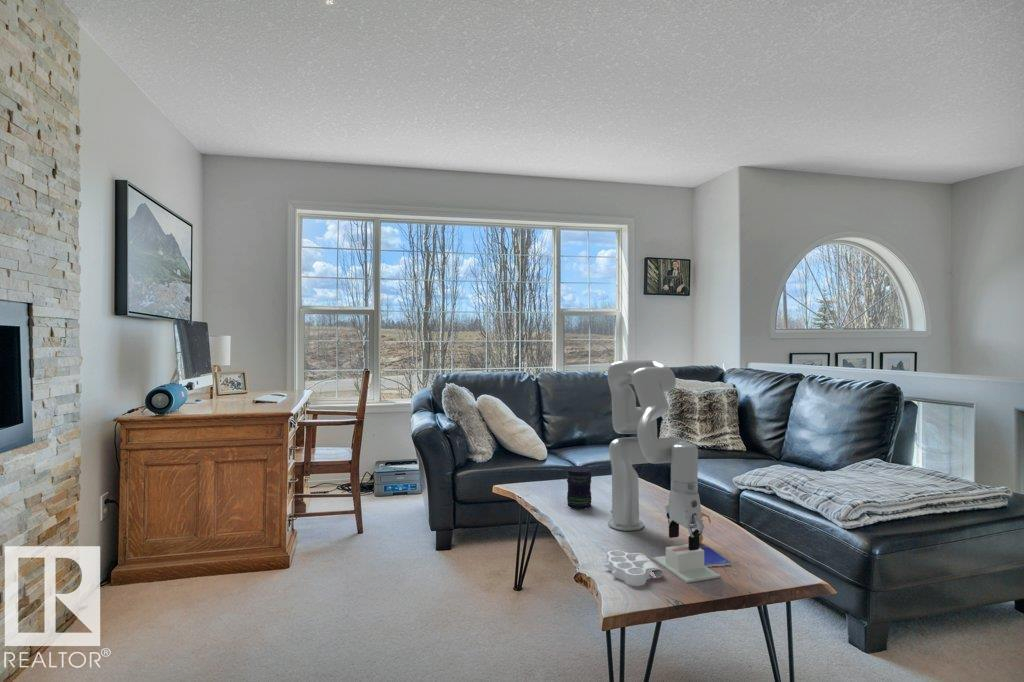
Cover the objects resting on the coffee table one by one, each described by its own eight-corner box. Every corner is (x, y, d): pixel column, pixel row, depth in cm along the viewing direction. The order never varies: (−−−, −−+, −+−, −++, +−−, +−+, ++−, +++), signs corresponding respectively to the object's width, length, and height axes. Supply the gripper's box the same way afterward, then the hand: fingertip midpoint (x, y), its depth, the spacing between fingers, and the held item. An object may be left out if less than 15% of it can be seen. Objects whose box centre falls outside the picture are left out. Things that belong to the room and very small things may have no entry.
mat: (652, 559, 166) (652, 557, 166) (683, 554, 169) (683, 553, 169) (686, 582, 149) (686, 580, 149) (720, 577, 153) (720, 575, 153)
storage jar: (565, 502, 225) (565, 466, 225) (589, 502, 226) (588, 466, 226) (569, 509, 215) (568, 472, 215) (593, 509, 216) (593, 471, 216)
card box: (690, 559, 164) (690, 542, 164) (704, 567, 158) (704, 550, 158) (665, 564, 161) (665, 546, 161) (678, 572, 155) (678, 554, 155)
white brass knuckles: (669, 583, 150) (619, 589, 147) (640, 558, 167) (595, 563, 164) (669, 571, 150) (619, 577, 147) (640, 547, 167) (595, 551, 164)
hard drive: (731, 561, 161) (709, 546, 173) (705, 563, 160) (685, 548, 172) (731, 567, 161) (709, 551, 173) (705, 569, 160) (685, 553, 172)
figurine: (706, 541, 181) (706, 504, 181) (713, 547, 175) (713, 510, 175) (682, 541, 181) (681, 505, 181) (688, 548, 174) (687, 510, 175)
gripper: (714, 493, 152) (713, 553, 153) (677, 476, 169) (677, 531, 169) (691, 495, 150) (690, 556, 151) (656, 478, 167) (656, 534, 167)
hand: (683, 543), depth 160 cm, fingers open, 9 cm apart
